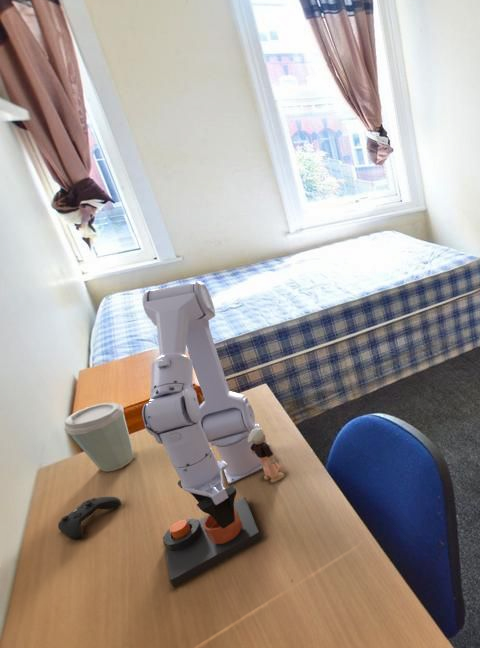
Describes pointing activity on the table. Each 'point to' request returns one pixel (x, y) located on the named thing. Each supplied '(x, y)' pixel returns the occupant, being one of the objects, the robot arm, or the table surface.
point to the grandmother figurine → (264, 455)
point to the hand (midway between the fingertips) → (219, 514)
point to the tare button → (179, 529)
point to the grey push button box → (206, 546)
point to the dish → (220, 534)
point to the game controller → (85, 515)
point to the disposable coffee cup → (102, 435)
